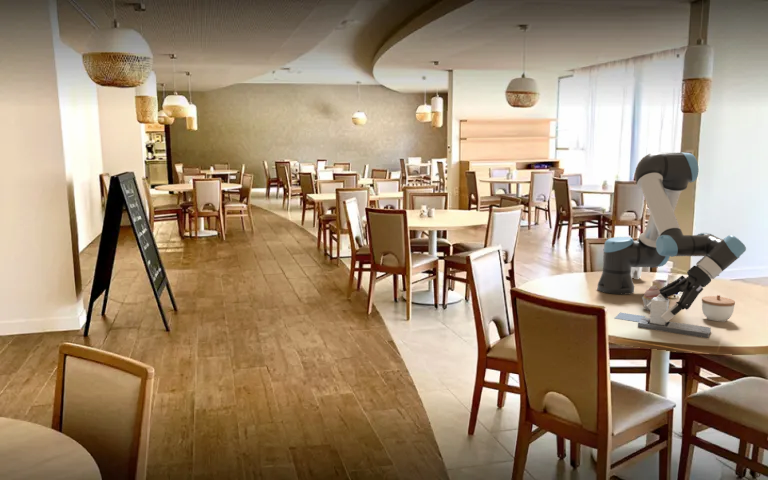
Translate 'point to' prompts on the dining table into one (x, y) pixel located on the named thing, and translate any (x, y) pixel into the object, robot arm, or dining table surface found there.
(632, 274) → the cup with straw
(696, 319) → the dining table surface
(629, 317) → the mat
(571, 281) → the dining table surface
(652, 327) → the rail
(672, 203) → the robot arm
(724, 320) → the lidded jar
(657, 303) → the nut block
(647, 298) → the cupcake
